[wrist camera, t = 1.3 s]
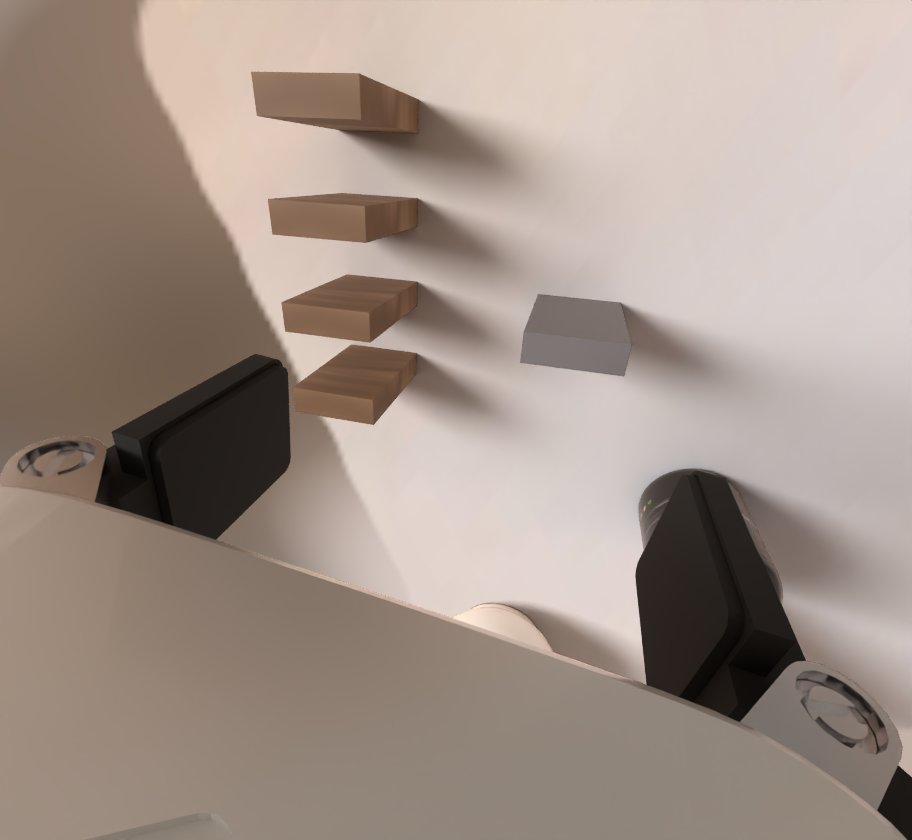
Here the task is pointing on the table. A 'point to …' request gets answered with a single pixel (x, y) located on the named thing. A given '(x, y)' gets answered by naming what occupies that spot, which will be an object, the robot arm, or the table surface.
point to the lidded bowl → (505, 623)
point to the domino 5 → (577, 335)
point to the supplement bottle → (658, 499)
